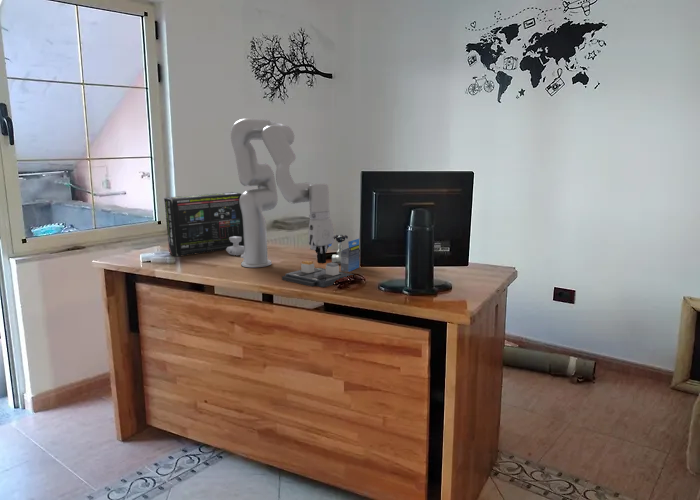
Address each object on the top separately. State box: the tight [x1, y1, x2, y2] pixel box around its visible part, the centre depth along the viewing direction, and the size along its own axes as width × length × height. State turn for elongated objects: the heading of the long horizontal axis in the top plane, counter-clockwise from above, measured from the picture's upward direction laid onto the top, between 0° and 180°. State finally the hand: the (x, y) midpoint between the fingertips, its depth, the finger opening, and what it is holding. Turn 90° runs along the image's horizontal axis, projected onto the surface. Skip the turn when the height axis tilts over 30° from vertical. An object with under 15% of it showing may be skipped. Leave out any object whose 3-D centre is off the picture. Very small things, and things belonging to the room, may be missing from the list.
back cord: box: [318, 267, 355, 276], centre depth 217 cm, size 18×1×1 cm, turn 49°
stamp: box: [225, 236, 244, 257], centre depth 257 cm, size 9×7×8 cm
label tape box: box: [340, 238, 360, 273], centre depth 224 cm, size 9×4×12 cm, turn 149°
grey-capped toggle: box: [325, 261, 340, 276], centre depth 208 cm, size 4×3×4 cm
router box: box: [163, 191, 244, 257], centre depth 266 cm, size 36×11×27 cm, turn 127°
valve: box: [331, 234, 349, 265], centre depth 234 cm, size 7×7×12 cm
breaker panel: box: [284, 267, 350, 288], centre depth 210 cm, size 20×14×2 cm
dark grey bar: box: [281, 275, 315, 288], centre depth 205 cm, size 16×1×1 cm, turn 49°
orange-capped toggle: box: [300, 260, 315, 273], centre depth 212 cm, size 4×3×4 cm
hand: (321, 262), depth 217 cm, fingers closed
